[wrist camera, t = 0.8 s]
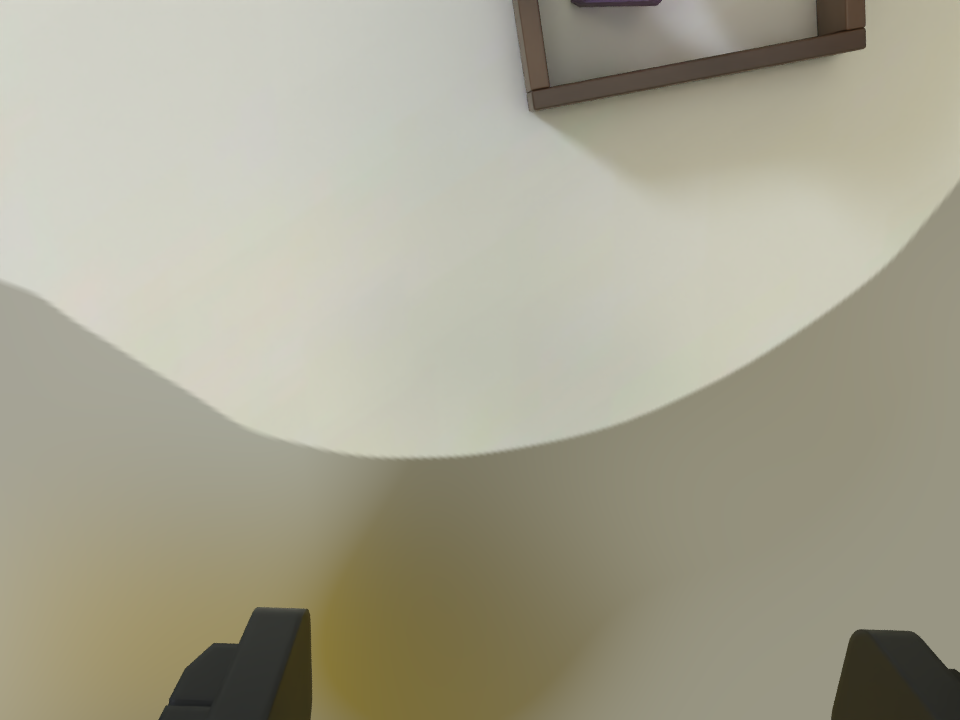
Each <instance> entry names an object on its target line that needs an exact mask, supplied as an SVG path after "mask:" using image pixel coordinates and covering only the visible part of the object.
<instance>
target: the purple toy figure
mask: <svg viewBox="0 0 960 720" xmlns="http://www.w3.org/2000/svg"><path fill="white" fill-rule="evenodd" d="M661 1H662V0H571V2H572V3H573V4H575V5H577V6H578V7H607V6H656V5H658V4H659V3H660V2H661Z"/></svg>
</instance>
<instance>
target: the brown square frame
mask: <svg viewBox="0 0 960 720" xmlns="http://www.w3.org/2000/svg"><path fill="white" fill-rule="evenodd" d="M512 1H513V8H514V14H515V21H516V27H517V34H518V41H519V47H520V54H521V60H522V67H523V74H524V80H525V87H526V92H527V93H528V94H527V100H528V106H529V111H530V112H534V111H539V110H544V109H550V108H555V107H560V106H566V105H571V104H576V103H582V102H587V101H592V100H598V99H603V98H608V97H613V96H619V95H624V94H629V93H635V92H640V91H645V90H651V89H656V88H661V87H666V86H672V85H677V84H682V83H688V82H693V81H698V80H704V79H709V78H714V77H720V76H725V75H730V74H735V73H741V72H746V71H751V70H757V69H762V68H767V67H773V66H778V65H783V64H789V63H794V62H799V61H804V60H810V59H815V58H820V57H826V56H831V55H836V54H841V53H846V52H851V51H856V50H861V49H864V48H865V47H866V30H865V28H864V27H865V25H866V20H865V0H817V19H818V36H817V37H811V38H806V39H801V40H796V41H790V42H785V43H780V44H775V45H769V46H764V47H759V48H753V49H748V50H743V51H738V52H732V53H727V54H722V55H717V56H711V57H706V58H701V59H695V60H690V61H685V62H680V63H674V64H669V65H664V66H659V67H653V68H648V69H643V70H637V71H632V72H627V73H622V74H616V75H611V76H606V77H601V78H595V79H590V80H585V81H580V82H574V83H569V84H564V85H558V86H553V87H550V83H549V76H548V69H547V62H546V55H545V48H544V41H543V33H542V26H541V19H540V12H539V5H538V0H512Z"/></svg>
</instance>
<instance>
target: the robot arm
mask: <svg viewBox="0 0 960 720" xmlns="http://www.w3.org/2000/svg"><path fill="white" fill-rule="evenodd" d="M311 707H312V668H311V625H310V613H309V610H308V609H296V608H269V607H257V608H256V609H255V610H254V611H253V613H252V615H251V617H250V619H249V622H248V624H247V626H246V628H245V631H244V633H243V636H242V637H241V640H240V642H239V644H227V643H213V644H212V645H211V646H210V647H209V648H208V649H206V650H205V651H204V652H203V653H202V654H201V655H200V656H199V657H198V658H197V659H195V660H194V661H193V662H192V663H191V664H190V665H189V666H187V667H186V668H185V670H184V672H183V674H182V676H181V678H180V679H179V681H178V683H177V685H176V687H175V689H174V691H173V693H172V695H171V697H170V699H169V704H168V706H165V708H164V710H163V712H162V714H161V716H160V718H159V720H310V718H311V709H312V708H311ZM831 720H960V673H959V672H958V671H957V670H955V669H948V668H947V667H946V666H945V665H944V664H943V663H942V661H941V660H940V659H939V658H938V657H937V656H936V655H935V654H934V652H933V651H932V650H931V649H930V648H929V647H928V646H927V644H926V643H925V642H924V641H923V640H922V639H921V638H920V637H919V636H918V635H917V634H915V633H914V632H911V631H893V630H862V629H861V630H857V631H855V632H854V633H853V634H852V636H851V638H850V640H849V644H848V648H847V652H846V656H845V660H844V664H843V668H842V673H841V677H840V681H839V685H838V689H837V693H836V697H835V701H834V705H833V710H832V717H831Z"/></svg>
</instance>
